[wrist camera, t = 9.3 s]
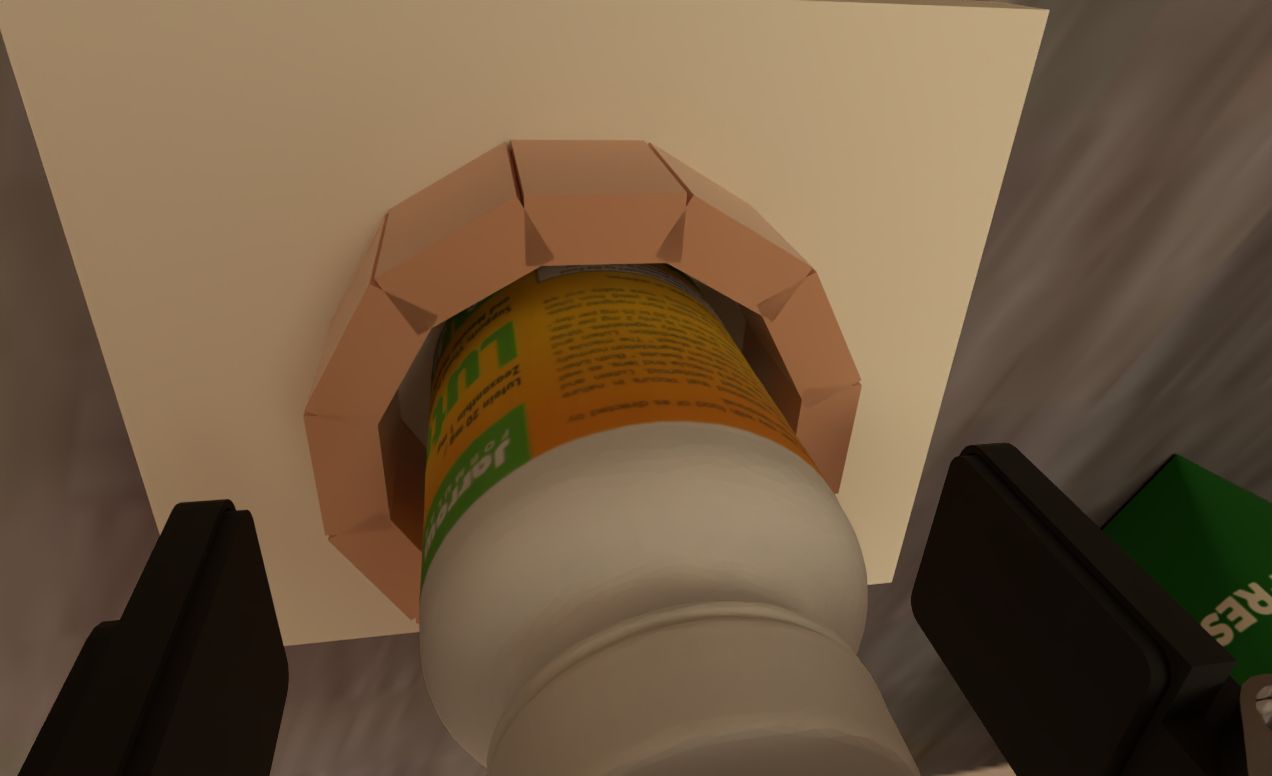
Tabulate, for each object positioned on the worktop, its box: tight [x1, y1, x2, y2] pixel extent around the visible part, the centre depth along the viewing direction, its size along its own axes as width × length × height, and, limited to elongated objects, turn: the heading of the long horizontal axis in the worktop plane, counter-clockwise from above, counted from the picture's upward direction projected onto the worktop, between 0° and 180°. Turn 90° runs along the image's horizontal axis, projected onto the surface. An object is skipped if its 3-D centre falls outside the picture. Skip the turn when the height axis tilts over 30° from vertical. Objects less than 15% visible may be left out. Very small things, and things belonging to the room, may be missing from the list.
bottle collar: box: [303, 140, 862, 624], centre depth 14 cm, size 9×9×3 cm
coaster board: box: [0, 0, 1050, 646], centre depth 16 cm, size 13×16×2 cm
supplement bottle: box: [419, 263, 921, 776], centre depth 11 cm, size 5×5×10 cm
